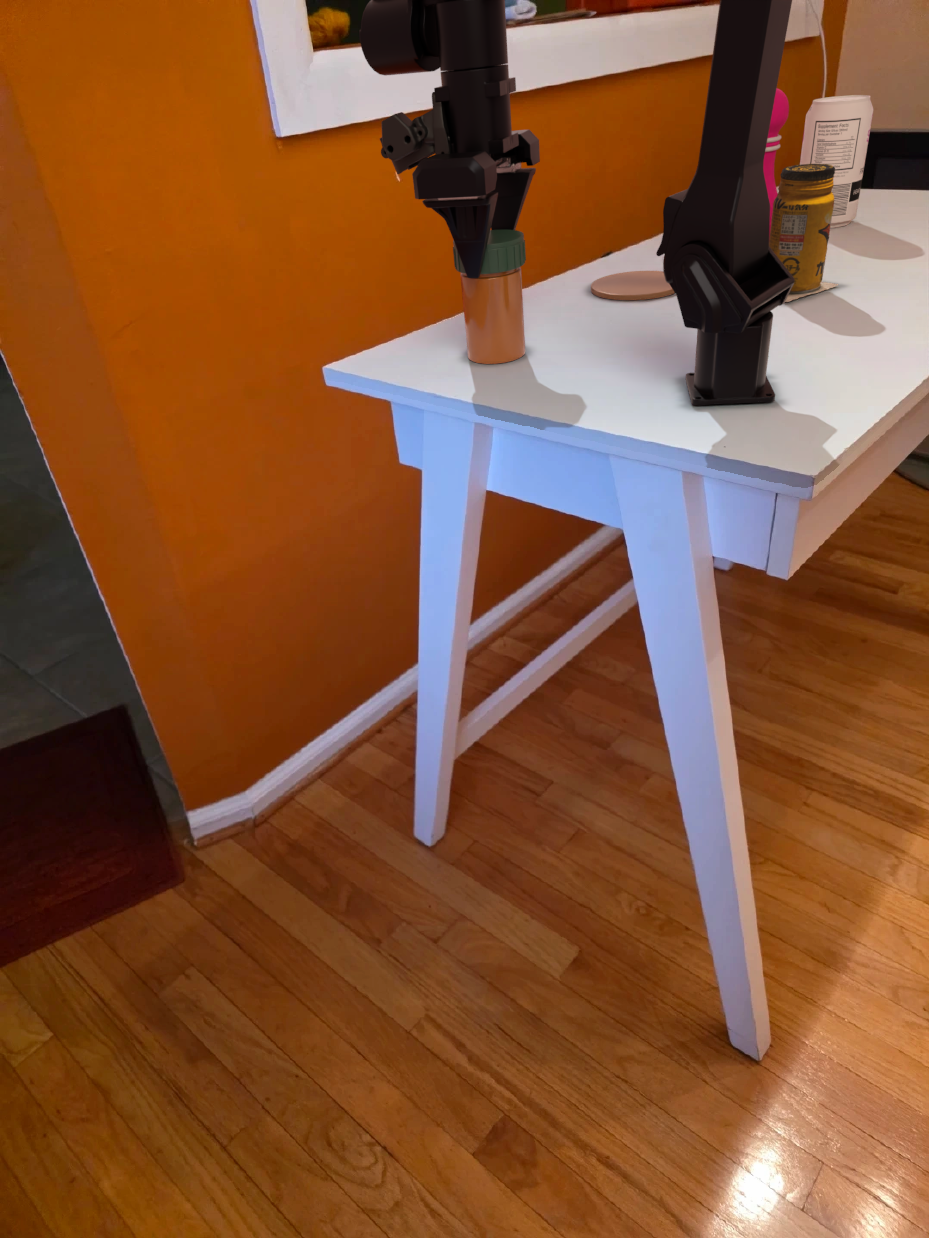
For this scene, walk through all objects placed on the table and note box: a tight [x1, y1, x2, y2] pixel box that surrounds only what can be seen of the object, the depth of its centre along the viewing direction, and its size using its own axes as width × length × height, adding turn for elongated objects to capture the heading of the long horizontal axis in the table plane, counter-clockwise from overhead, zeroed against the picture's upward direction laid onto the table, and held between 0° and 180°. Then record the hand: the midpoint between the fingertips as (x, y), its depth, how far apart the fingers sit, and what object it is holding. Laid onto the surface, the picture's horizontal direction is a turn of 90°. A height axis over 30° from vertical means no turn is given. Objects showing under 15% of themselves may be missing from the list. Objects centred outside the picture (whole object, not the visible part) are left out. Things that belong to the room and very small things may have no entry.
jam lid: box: [452, 229, 527, 274], centre depth 77 cm, size 7×7×2 cm
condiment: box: [769, 164, 839, 303], centre depth 88 cm, size 7×8×12 cm
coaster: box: [590, 270, 676, 301], centre depth 98 cm, size 11×11×1 cm
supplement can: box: [799, 94, 874, 229], centre depth 112 cm, size 8×8×15 cm
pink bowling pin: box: [763, 87, 790, 238], centre depth 98 cm, size 7×7×20 cm
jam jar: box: [460, 266, 526, 365], centre depth 80 cm, size 6×6×10 cm
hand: (488, 265), depth 78 cm, fingers open, 9 cm apart
